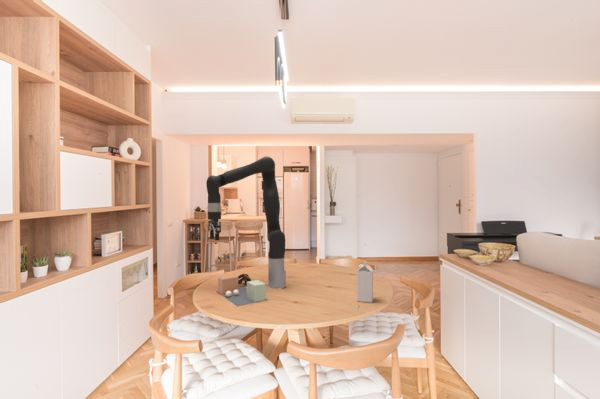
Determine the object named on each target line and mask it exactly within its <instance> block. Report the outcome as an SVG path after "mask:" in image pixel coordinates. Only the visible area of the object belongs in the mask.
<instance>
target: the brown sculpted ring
mask: <svg viewBox="0 0 600 399" xmlns="http://www.w3.org/2000/svg"><path fill="white" fill-rule="evenodd" d="M237 277H238V286H240V285H243V282H244V283H245V284H247V282H248V281H252V279H251V277H250V276H249V274H248V273H243V274H242V273H241V274H240V275H238V276H237Z"/></svg>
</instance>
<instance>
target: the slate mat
mask: <svg viewBox="0 0 600 399" xmlns="http://www.w3.org/2000/svg"><path fill="white" fill-rule="evenodd" d="M238 291H239V294H238V295H234V294H233V293H232V295H231V296H230V297H227V296H226V294H224V295H222V294H220V293H219V292H218V290H217V291H216V293H218V294H219V295H221V296H222V297H223V298H224V299H226V300H228V301H229V302H231V303H232V304H233V305H234V306H236V307H243V306H246V305H250V304H251V305H253V304H256V303H257V302H253V301H252V300H250V299H248V298H247V287H245V286H244V285H243V286H238ZM265 301H268V299H267V298H266V300H263V301H259V302H258V303H261V302H265Z"/></svg>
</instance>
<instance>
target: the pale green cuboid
mask: <svg viewBox="0 0 600 399" xmlns="http://www.w3.org/2000/svg"><path fill="white" fill-rule="evenodd" d="M266 286H267V285H266V283H265V282H263V281H261V280H258V279H254V280H251V281H248V282H247V283H246V288H247V298H248V299H250V300H252V301H253V302H256V303H260V302H259V301H261V302H264V301H263V300H266V299H267V297H266V296H267V295H266V294H267V293H266V291H267V288H266ZM266 301H267V300H266Z"/></svg>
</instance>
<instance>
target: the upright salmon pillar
mask: <svg viewBox="0 0 600 399" xmlns="http://www.w3.org/2000/svg"><path fill="white" fill-rule="evenodd" d="M217 280H218V282H217V284H218V285H217V286H218V287H217V289H218V290H217V291H218V292H219V293H220V294H222V295H224V294H226V292H227V291H231V293H233V291H234V290H236V289H237V290H238V287H239V285H238V280H239V279H238V276H237V275H235V274H230V275H225V276H224V275H223V276H217ZM218 292H217V293H218ZM219 293H218V294H219ZM220 294H219V295H220ZM222 295H221V296H222Z"/></svg>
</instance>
